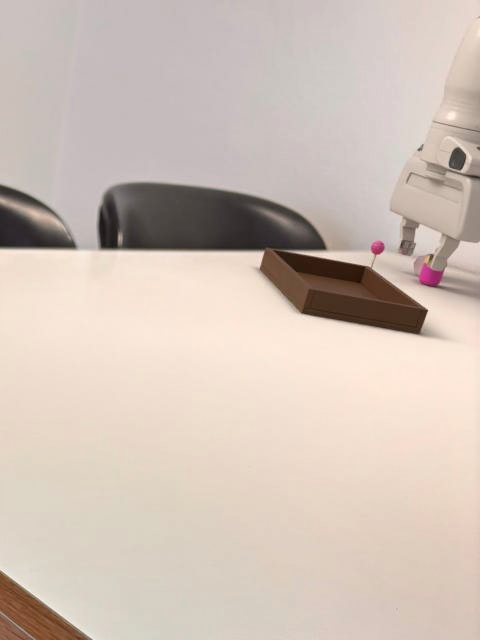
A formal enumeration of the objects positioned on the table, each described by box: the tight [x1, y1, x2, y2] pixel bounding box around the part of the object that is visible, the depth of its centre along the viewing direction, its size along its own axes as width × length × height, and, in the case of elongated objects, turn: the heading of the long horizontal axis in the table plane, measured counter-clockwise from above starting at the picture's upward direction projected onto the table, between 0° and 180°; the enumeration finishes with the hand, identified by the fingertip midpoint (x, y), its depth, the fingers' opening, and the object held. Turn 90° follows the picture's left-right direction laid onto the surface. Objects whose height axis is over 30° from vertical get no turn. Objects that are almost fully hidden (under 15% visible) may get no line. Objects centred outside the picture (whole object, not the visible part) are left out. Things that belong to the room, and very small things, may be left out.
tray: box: [259, 247, 429, 334], centre depth 124 cm, size 13×21×3 cm, turn 0°
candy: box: [369, 240, 448, 287], centre depth 145 cm, size 18×8×6 cm, turn 139°
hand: (418, 262), depth 146 cm, fingers closed on candy, 7 cm apart
